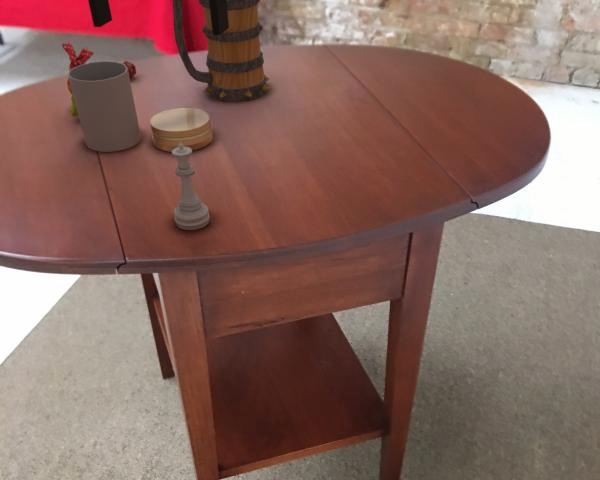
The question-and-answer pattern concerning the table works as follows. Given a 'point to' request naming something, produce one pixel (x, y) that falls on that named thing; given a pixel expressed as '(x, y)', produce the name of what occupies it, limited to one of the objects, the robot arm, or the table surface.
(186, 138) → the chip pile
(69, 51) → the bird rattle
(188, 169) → the chess piece
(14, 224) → the table surface
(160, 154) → the table surface
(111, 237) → the table surface
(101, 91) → the cup
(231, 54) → the mug
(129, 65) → the die
